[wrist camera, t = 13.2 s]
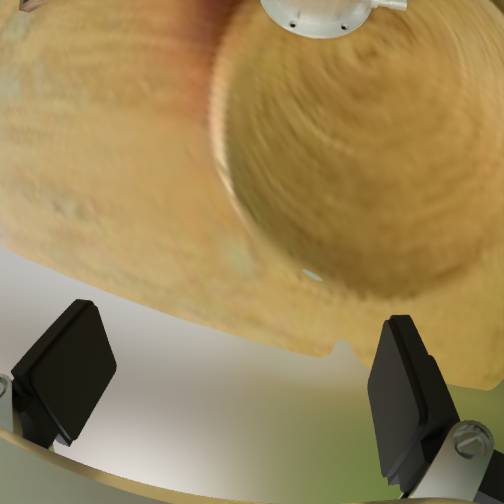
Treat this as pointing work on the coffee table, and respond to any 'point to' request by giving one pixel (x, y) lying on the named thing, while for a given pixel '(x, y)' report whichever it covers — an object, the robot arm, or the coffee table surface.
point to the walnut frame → (31, 4)
